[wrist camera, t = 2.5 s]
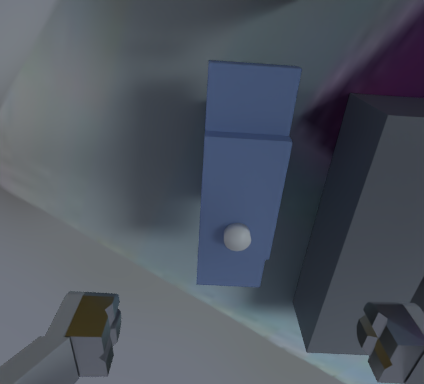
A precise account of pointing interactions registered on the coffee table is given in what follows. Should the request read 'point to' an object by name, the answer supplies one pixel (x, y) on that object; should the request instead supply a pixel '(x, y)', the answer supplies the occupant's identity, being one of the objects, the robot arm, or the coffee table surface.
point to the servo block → (243, 168)
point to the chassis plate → (366, 223)
